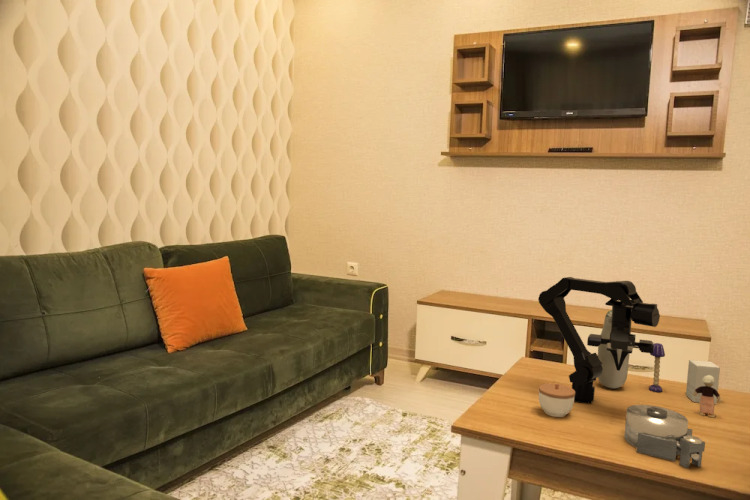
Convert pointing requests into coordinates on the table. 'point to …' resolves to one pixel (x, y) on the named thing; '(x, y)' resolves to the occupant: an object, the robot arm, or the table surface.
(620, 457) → the table surface
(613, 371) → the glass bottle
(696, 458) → the dial plunger
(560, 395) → the lidded jar
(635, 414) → the cover
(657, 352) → the toy lamp
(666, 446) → the centering jig
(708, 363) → the supplement box
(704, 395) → the grandmother figurine
